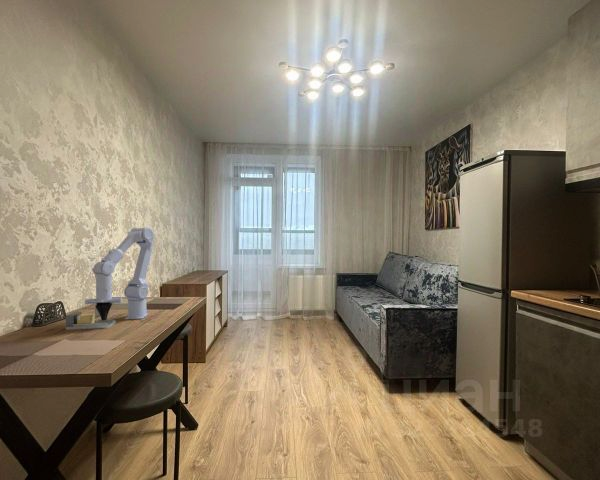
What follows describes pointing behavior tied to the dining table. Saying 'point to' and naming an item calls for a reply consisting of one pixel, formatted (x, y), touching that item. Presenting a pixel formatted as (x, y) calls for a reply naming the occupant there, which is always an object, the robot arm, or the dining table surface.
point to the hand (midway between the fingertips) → (104, 319)
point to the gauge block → (86, 318)
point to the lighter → (96, 312)
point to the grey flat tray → (93, 324)
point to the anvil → (72, 319)
